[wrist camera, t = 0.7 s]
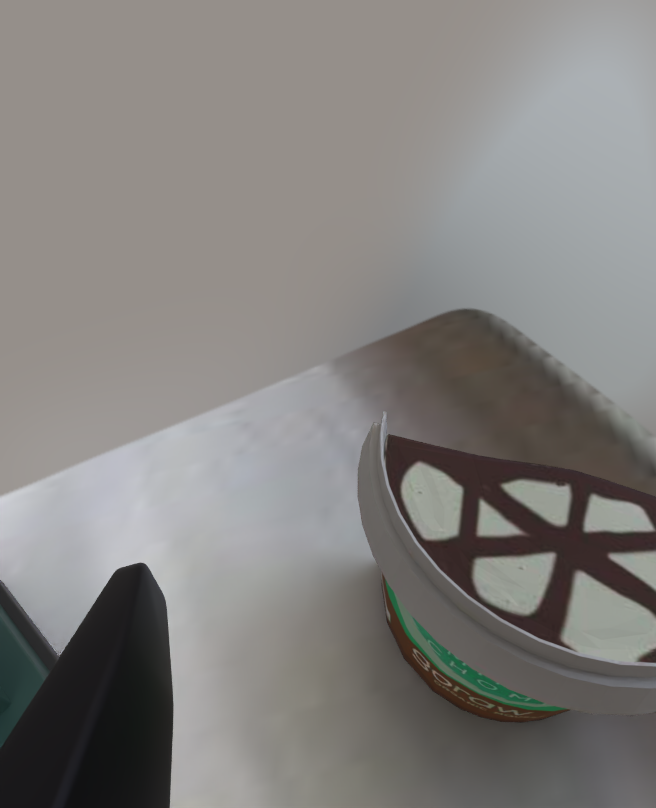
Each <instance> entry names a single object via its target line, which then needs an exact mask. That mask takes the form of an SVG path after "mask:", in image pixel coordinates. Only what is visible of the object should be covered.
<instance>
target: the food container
mask: <svg viewBox="0 0 656 808" xmlns="http://www.w3.org/2000/svg"><path fill="white" fill-rule="evenodd" d="M358 501H359V507H360V513H361V519H362V525H363V528H364V531H365V534H366V537H367V540H368V543H369V545H370V548H371V551H372V554H373V556H374V558H375V560H376V562H377V564H378V566H379V568H380V569H381V581H382V591H383V598H384V604H385V611H386V618H387V623H388V625H389V627H390V629H391V631H392V634H393V636H394V638H395V640H396V642H397V644H398V646H399V648H400V651H401V653H402V655H403V657H404V659H405V660H406V661H407V662H408V664H409V665H410V666H411V667H412V668H413V669H414V670H415V671H416V673H417V674H418V675H419V676H420V677H421V678H422V679H423V680H424V682H425V683H426V684H427V685H428V686H429V687H430V688H431V689H432V691H434V692H435V693H437V694H438V695H440V696H442V697H443V698H445V699H446V700H448V701H449V702H451V703H452V704H454V705H455V706H457V707H459V708H460V709H462V710H464V711H467V712H469V713H472V714H474V715H477V716H479V717H482V718H487V719H491V720H496V721H500V722H528V721H535V720H541V719H544V718H547V717H550V716H553V715H556V714H559V713H562V712H565V711H568V710H575V711H580V712H584V713H589V714H604V715H626V716H633V715H641V714H648V713H655V712H656V496H652V495H649V494H646V493H643V492H641V491H638V490H635V489H632V488H629V487H626V486H623V485H620V484H617V483H614V482H611V481H608V480H605V479H601V478H598V477H595V476H591V475H588V474H585V473H582V472H578V471H574V470H570V469H564V468H558V467H552V466H546V465H540V464H533V463H525V462H518V461H510V460H503V459H497V458H490V457H484V456H478V455H474V454H470V453H465V452H461V451H457V450H452V449H448V448H444V447H439V446H435V445H431V444H426V443H422V442H418V441H414V440H410V439H406V438H402V437H398V436H394V435H390V434H388V435H387V417H386V412H385V411H384V412H383V417H382V421H381V424H378V423H373V425H372V427H371V429H370V431H369V433H368V435H367V437H366V439H365V442H364V444H363V446H362V450H361V456H360V461H359V467H358Z"/></svg>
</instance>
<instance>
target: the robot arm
mask: <svg viewBox="0 0 656 808" xmlns="http://www.w3.org/2000/svg"><path fill="white" fill-rule="evenodd" d="M172 738H173V688H172V674H171V660H170V646H169V633H168V619H167V607H166V601H165V598H164V595H163V593H162V591H161V589H160V587H159V586H158V584H157V582H156V580H155V578H154V577H153V575H152V573H151V571H150V570H149V568H148V566H147V565H146V564H144V563H137V564H133V565H129V566H126V567H122V568H119V569H118V570H116V571H115V572H114V574H113V575H112V577H111V578H110V580H109V581H108V583H107V584H106V586H105V587H104V589H103V591H102V592H101V594H100V595H99V597H98V598H97V600H96V601H95V603H94V604H93V606H92V608H91V609H90V611H89V612H88V614H87V615H86V617H85V618H84V620H83V621H82V623H81V625H80V626H79V628H78V629H77V631H76V632H75V634H74V635H73V637H72V638H71V640H70V642H69V643H68V645H67V646H66V648H65V649H64V651H63V652H62V654H61V656H60V657H59V659H58V660H57V662H56V663H55V665H54V666H53V668H52V669H51V671H50V673H49V674H48V676H47V677H46V679H45V680H44V682H43V683H42V685H41V686H40V688H39V690H38V691H37V693H36V694H35V696H34V697H33V699H32V700H31V702H30V703H29V705H28V707H27V708H26V710H25V711H24V713H23V714H22V716H21V717H20V719H19V721H18V722H17V724H16V725H15V727H14V728H13V730H12V731H11V733H10V734H9V736H8V738H7V739H6V741H5V742H4V744H3V745H2V747H1V748H0V808H170V787H171V762H172Z"/></svg>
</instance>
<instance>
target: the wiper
mask: <svg viewBox="0 0 656 808" xmlns="http://www.w3.org/2000/svg"><path fill="white" fill-rule="evenodd" d="M58 659H59V656H58V655H57V653H56V652H55V651H54V649H53V648H52V647H51V645H50V644H49V643H48V641H47V640H46V639H45V637H44V636H43V635H42V634H41V632H40V631H39V630H38V628H37V627H36V626H35V624H34V623H33V622H32V620H31V619H30V618H29V616H28V615H27V614H26V612H25V611H24V610H23V608H22V607H21V606H20V604H19V603H18V602H17V600H16V599H15V598H14V596H13V595H12V594H11V592H10V591H9V590H8V588H7V587H6V586H5V584H4V583H3V582H2V581H1V580H0V748H1V747H2V745H3V744H4V742H5V741H6V739H7V738H8V736H9V734H10V733H11V731H12V730H13V728H14V727H15V725H16V724H17V722H18V721H19V719H20V717H21V716H22V714H23V713H24V711H25V710H26V708H27V707H28V705H29V703H30V702H31V700H32V699H33V697H34V696H35V694H36V693H37V691H38V690H39V688H40V686H41V685H42V683H43V682H44V680H45V679H46V677H47V676H48V674H49V673H50V671H51V669H52V668H53V666H54V665H55V663H56V662H57V660H58Z"/></svg>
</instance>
